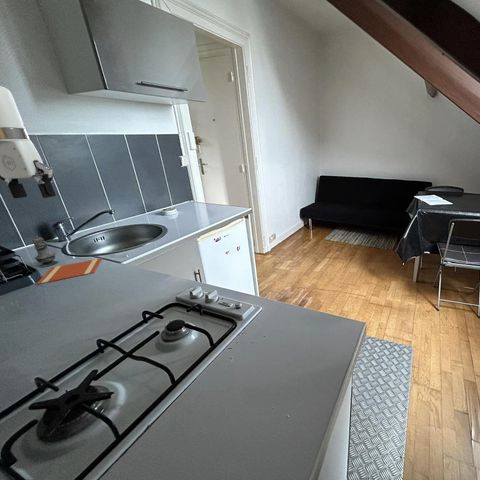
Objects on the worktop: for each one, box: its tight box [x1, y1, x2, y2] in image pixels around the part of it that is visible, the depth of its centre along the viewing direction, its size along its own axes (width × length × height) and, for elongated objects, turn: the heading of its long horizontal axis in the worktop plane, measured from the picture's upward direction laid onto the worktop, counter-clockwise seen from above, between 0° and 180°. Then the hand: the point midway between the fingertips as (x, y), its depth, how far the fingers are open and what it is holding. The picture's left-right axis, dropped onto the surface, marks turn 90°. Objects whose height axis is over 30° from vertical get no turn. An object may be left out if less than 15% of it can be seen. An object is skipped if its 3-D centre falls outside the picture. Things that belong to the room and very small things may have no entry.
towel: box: [36, 258, 103, 286], centre depth 95 cm, size 15×14×1 cm
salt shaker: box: [31, 234, 59, 268], centre depth 99 cm, size 6×6×12 cm
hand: (35, 197), depth 78 cm, fingers open, 9 cm apart
